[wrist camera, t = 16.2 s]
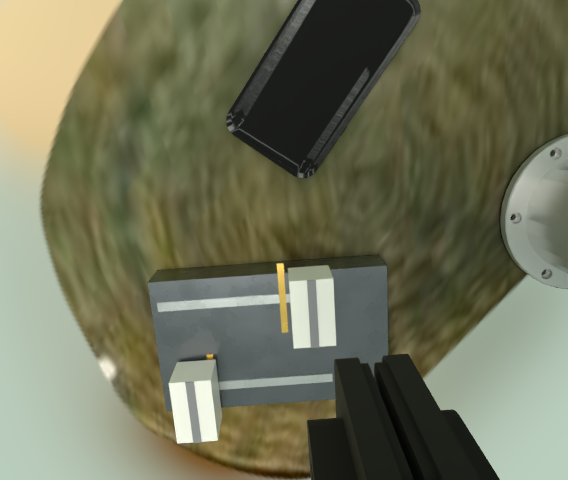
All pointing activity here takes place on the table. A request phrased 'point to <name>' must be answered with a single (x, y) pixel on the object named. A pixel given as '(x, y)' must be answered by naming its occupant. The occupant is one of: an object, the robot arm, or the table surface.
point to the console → (266, 327)
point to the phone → (318, 77)
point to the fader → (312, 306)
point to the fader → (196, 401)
